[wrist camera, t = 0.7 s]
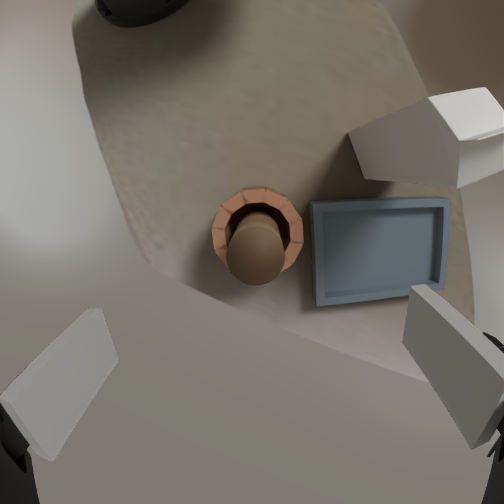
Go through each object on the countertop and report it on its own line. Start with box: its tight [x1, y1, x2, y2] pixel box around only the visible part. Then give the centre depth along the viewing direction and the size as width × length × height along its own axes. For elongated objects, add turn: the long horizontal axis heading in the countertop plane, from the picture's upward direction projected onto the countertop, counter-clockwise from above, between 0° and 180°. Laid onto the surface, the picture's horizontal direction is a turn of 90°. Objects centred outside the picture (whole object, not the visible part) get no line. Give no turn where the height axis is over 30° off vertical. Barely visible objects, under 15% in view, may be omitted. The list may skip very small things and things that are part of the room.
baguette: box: [226, 206, 285, 285], centre depth 27 cm, size 4×4×14 cm
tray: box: [309, 196, 450, 306], centre depth 33 cm, size 12×18×3 cm, turn 95°
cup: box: [212, 186, 304, 273], centre depth 31 cm, size 8×8×8 cm
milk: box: [348, 87, 504, 189], centre depth 21 cm, size 6×6×22 cm
